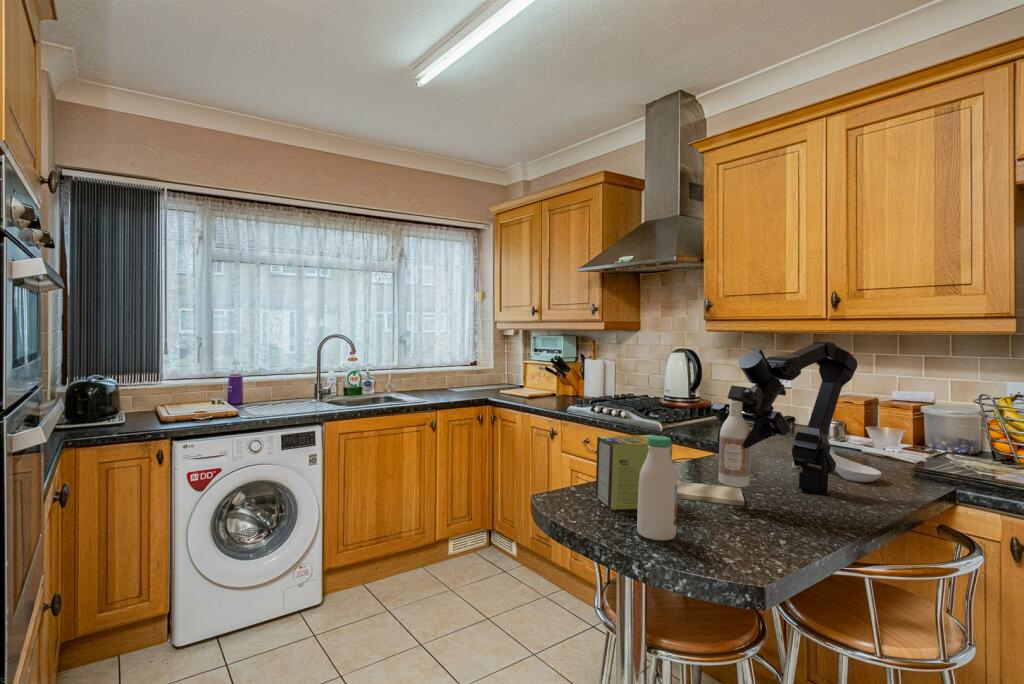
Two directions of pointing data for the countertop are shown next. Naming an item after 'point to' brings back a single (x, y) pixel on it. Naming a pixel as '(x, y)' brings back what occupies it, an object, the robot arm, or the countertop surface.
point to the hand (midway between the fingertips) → (731, 444)
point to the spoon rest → (853, 470)
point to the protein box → (620, 469)
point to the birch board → (710, 493)
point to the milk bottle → (657, 492)
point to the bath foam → (734, 448)
